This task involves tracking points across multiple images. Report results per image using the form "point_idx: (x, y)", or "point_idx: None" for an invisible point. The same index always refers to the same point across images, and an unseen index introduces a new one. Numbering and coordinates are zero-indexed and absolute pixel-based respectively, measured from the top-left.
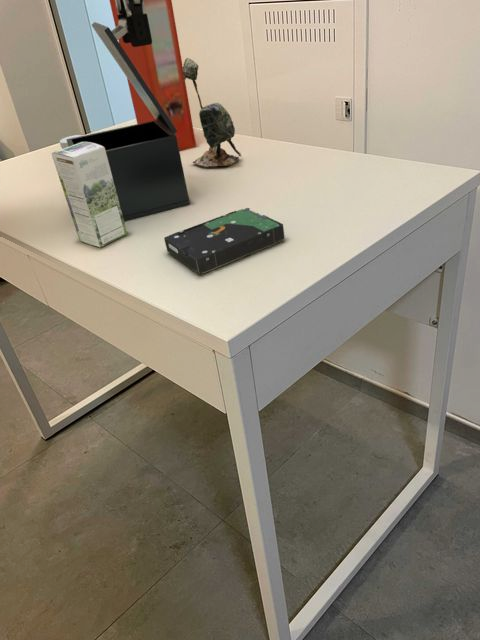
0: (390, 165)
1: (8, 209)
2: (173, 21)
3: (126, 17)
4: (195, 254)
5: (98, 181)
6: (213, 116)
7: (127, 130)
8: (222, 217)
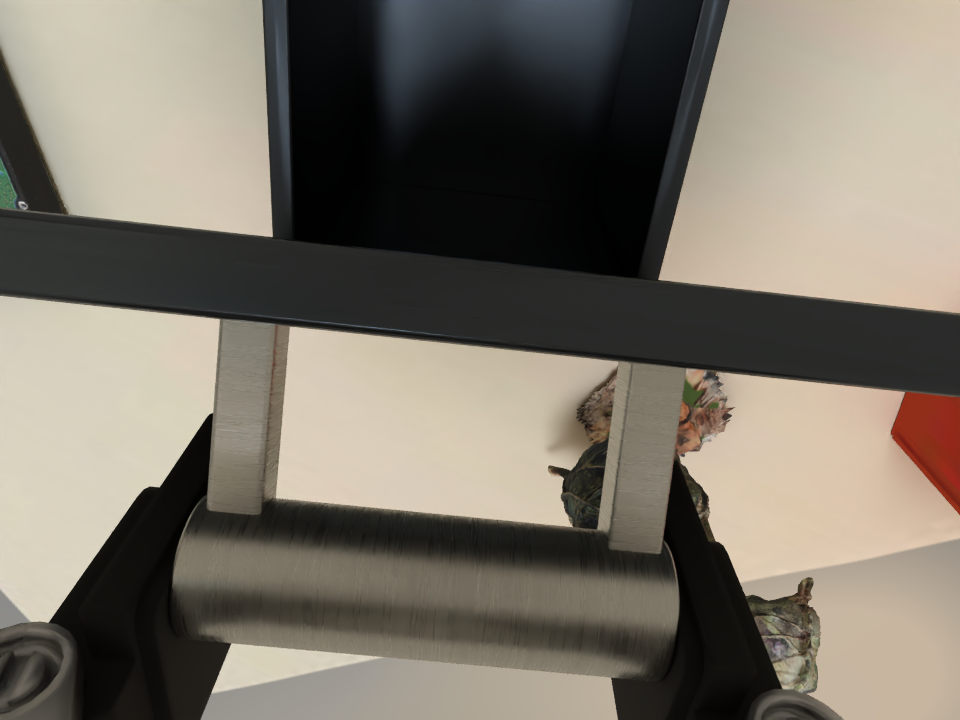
0: (260, 654)
1: None
2: None
3: (86, 610)
4: None
5: None
6: (597, 511)
7: (663, 142)
8: (10, 192)
